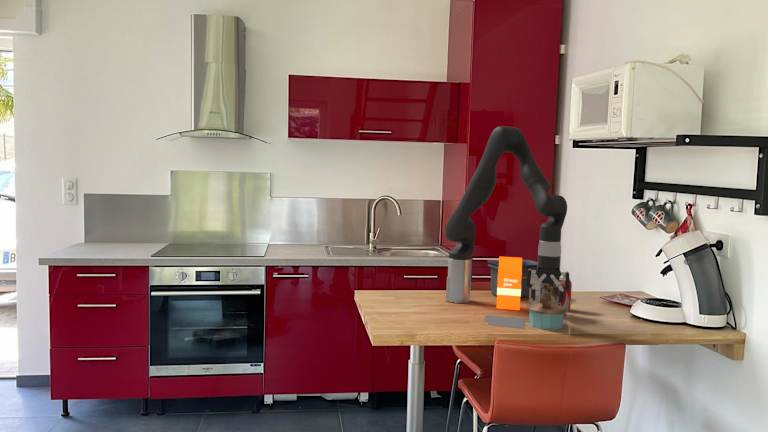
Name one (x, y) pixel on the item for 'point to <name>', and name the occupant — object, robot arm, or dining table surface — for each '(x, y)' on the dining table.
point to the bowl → (546, 321)
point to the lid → (546, 306)
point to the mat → (505, 321)
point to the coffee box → (544, 288)
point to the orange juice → (509, 283)
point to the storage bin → (525, 266)
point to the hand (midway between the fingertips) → (546, 300)
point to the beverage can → (566, 294)
